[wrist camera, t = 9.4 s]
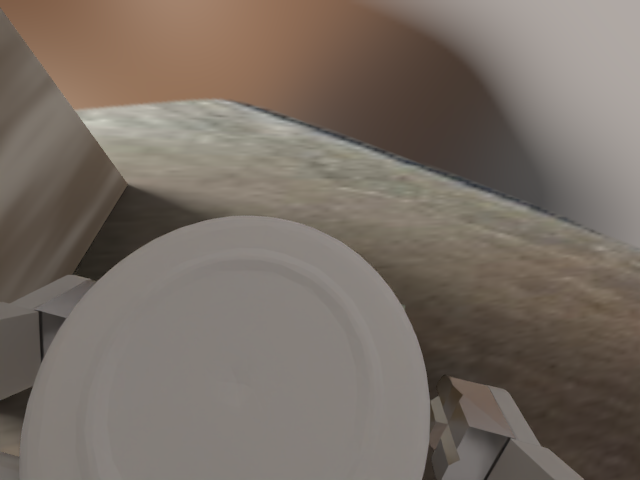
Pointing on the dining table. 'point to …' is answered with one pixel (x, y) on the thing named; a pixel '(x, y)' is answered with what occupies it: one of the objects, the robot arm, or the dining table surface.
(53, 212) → the awning socket
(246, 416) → the sprinkles bottle
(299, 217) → the dining table surface
